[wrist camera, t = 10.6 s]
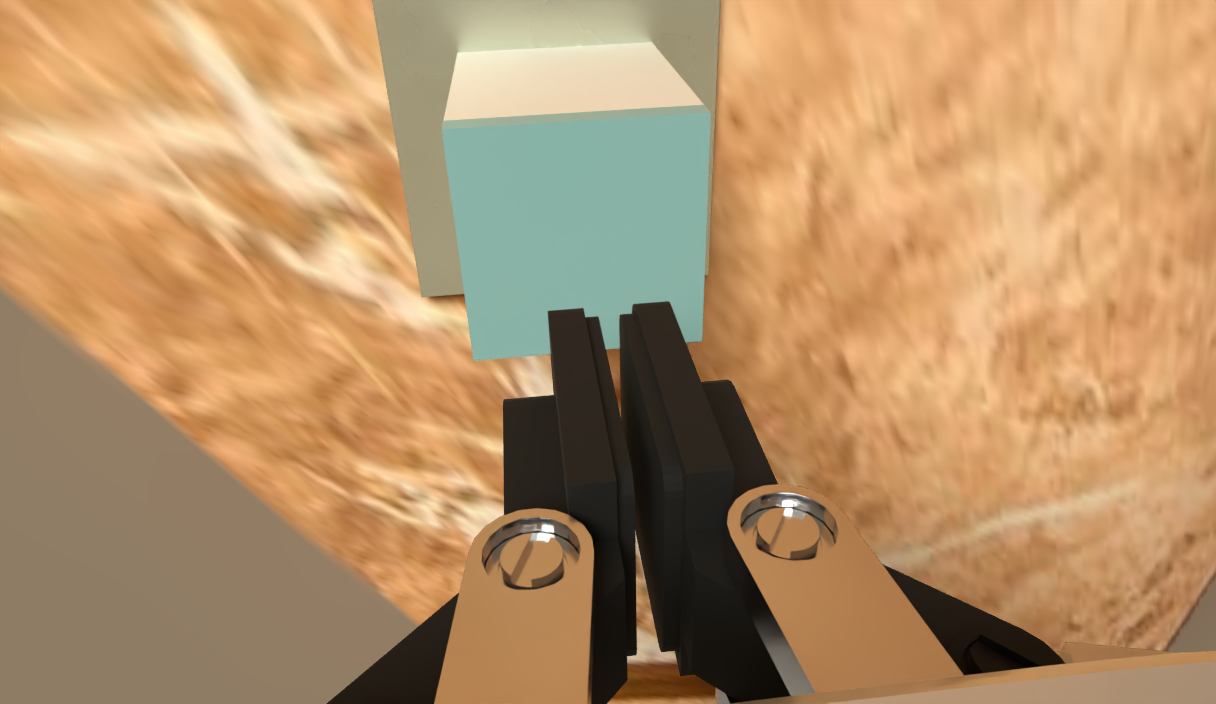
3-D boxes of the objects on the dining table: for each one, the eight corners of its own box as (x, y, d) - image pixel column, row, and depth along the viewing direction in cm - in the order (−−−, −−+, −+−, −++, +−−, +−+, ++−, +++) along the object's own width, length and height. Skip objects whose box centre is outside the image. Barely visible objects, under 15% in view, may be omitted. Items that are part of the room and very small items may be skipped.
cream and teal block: (652, 42, 22) (710, 112, 16) (652, 222, 25) (702, 341, 18) (457, 52, 21) (441, 129, 15) (479, 235, 24) (473, 360, 18)
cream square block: (716, -40, 21) (786, -7, 16) (704, 266, 26) (756, 369, 21) (371, -25, 21) (328, 15, 15) (423, 288, 25) (403, 400, 20)
